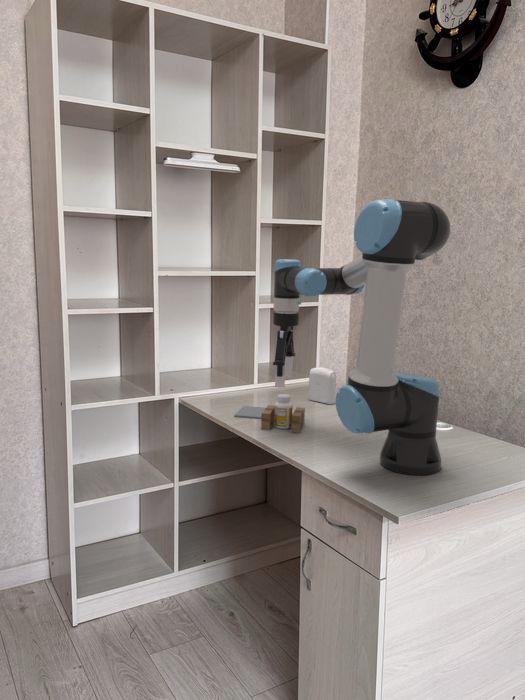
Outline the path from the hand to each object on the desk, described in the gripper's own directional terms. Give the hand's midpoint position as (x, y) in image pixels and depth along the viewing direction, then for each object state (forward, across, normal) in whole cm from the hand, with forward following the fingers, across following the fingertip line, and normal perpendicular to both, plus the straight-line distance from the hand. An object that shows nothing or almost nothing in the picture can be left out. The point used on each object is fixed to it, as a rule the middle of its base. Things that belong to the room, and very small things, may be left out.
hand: (283, 381), depth 180 cm
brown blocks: (+14, 0, 0) cm, 14 cm away
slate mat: (+14, +12, +11) cm, 21 cm away
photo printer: (+14, +34, -8) cm, 37 cm away
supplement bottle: (+14, 0, 0) cm, 14 cm away
